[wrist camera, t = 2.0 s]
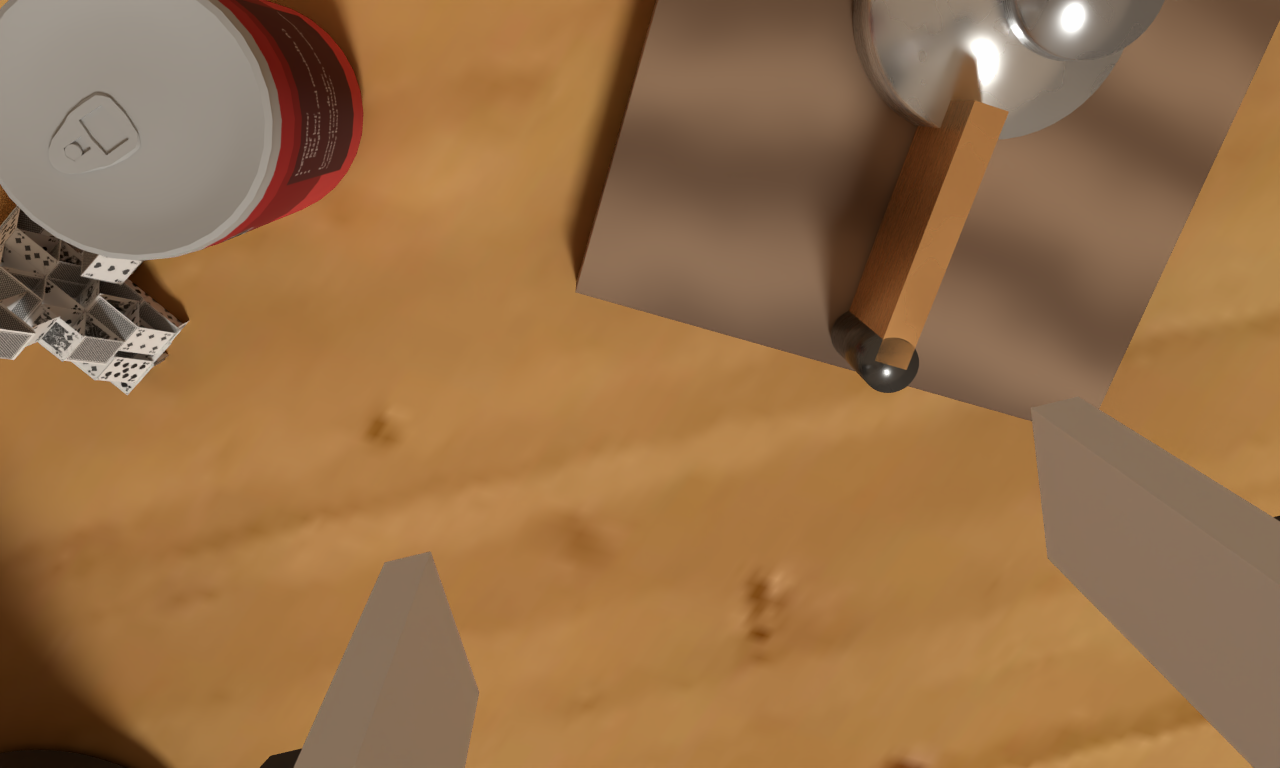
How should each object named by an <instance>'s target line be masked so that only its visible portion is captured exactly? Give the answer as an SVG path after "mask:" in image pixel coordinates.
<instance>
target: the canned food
mask: <svg viewBox="0 0 1280 768" xmlns="http://www.w3.org/2000/svg"><path fill="white" fill-rule="evenodd" d="M362 126H363V107H362V99H361V92H360V89H359V86H358V83H357V80H356V76H355V73H354V71H353V69H352V67H351V65H350V63H349V62H348V60H347V58H346V56H345V54H344V53H343V51H342V50H341V49H340V47H339V46H338V45H337V44H336V43H335V41H334V40H333V39H332V38H331V37H330V35H329V34H328V33H326V32H325V31H324V30H323V29H322V28H320V27H319V26H318V25H317V24H316V23H314V22H313V21H312V20H311V19H309V18H307V17H305V16H303V15H302V14H300V13H298V12H296V11H294V10H293V9H291V8H287V7H284V6H281V5H278V4H275V3H272V2H269V1H266V0H9V1H8V2H7V3H6V4H5V5H3V6H2V7H1V9H0V185H1V186H2V187H3V189H4V190H5V192H6V193H7V195H8V196H9V197H10V199H11V200H12V201H13V202H14V203H15V204H16V205H17V206H18V207H19V208H20V209H21V210H22V211H23V212H24V213H25V214H26V215H27V216H28V217H29V218H30V219H31V220H33V221H34V222H35V223H37V224H38V225H40V226H41V227H42V228H44V229H45V230H47V231H48V232H49V233H51V234H52V235H54V236H55V237H57V238H59V239H61V240H63V241H65V242H67V243H69V244H71V245H73V246H75V247H77V248H79V249H82V250H84V251H88V252H91V253H95V254H98V255H102V256H106V257H109V258H117V259H127V260H137V261H141V260H152V259H163V258H170V257H178V256H181V255H184V254H188V253H191V252H195V251H198V250H201V249H204V248H207V247H209V246H213V245H216V244H219V243H221V242H224V241H226V240H229V239H231V238H234V237H236V236H238V235H241V234H243V233H246V232H248V231H251V230H253V229H256V228H258V227H260V226H263V225H265V224H268V223H270V222H273V221H275V220H278V219H280V218H282V217H285V216H287V215H290V214H292V213H295V212H297V211H300V210H302V209H304V208H306V207H308V206H310V205H311V204H313V203H315V202H317V201H319V200H320V199H322V198H323V197H324V196H325V195H327V194H328V193H329V192H330V191H331V190H333V189H334V188H335V187H336V186H337V184H338V183H339V182H340V181H341V179H342V178H343V177H344V176H345V174H346V173H347V172H348V170H349V168H350V166H351V164H352V162H353V160H354V158H355V156H356V154H357V150H358V147H359V143H360V139H361V136H362Z"/></svg>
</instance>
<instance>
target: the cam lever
mask: <svg viewBox="0 0 1280 768" xmlns="http://www.w3.org/2000/svg"><path fill="white" fill-rule="evenodd" d="M1164 1H1165V0H853V29H854V38H855V43H856V48H857V52H858V56H859V58H860V61H861V64H862V67H863V70H864V72H865V73H866V75H867V77H868V79H869V81H870V83H871V85H872V86H873V88H874V89H875V90H876V92H877V93H878V95H879V96H880V97H881V99H882V100H883V101H884V102H885V103H886V104H887V105H888V106H889V107H890V108H891V109H892V110H893V111H895V112H896V113H897V114H898V115H900V116H901V117H902V118H903V119H905V120H907V121H909V122H910V123H912V124H914V125H915V126H917V129H916V132H915V134H914V137H913V140H912V142H911V145H910V148H909V151H908V153H907V156H906V159H905V161H904V164H903V167H902V169H901V172H900V175H899V177H898V180H897V183H896V186H895V188H894V191H893V194H892V196H891V199H890V202H889V204H888V207H887V210H886V213H885V215H884V218H883V221H882V223H881V226H880V229H879V231H878V234H877V237H876V239H875V242H874V245H873V248H872V250H871V253H870V256H869V258H868V261H867V264H866V266H865V269H864V272H863V274H862V277H861V280H860V283H859V285H858V288H857V291H856V293H855V296H854V299H853V301H852V304H851V307H850V310H849V311H847V312H845V313H844V314H842V315H841V316H840V317H839V318H838V319H837V320H836V321H835V323H834V325H833V327H832V330H831V341H832V344H833V347H834V348H835V350H836V351H837V352H838V353H839V354H840V355H841V356H842V357H843V358H844V359H845V360H846V361H847V363H848V364H849V365H850V366H851V367H852V368H853V369H854V370H855V371H856V372H857V373H858V374H859V375H860V376H861V377H862V378H863V379H864V380H865V381H866V382H867V383H868V385H870V386H871V387H872V388H873V389H875V390H877V391H880V392H884V393H892V392H896V391H899V390H902V389H903V388H905V387H906V386H908V385H909V384H910V383H911V382H912V381H913V379H914V378H915V376H916V374H917V372H918V368H919V357H918V353H917V351H916V349H915V347H916V345H917V342H918V340H919V337H920V335H921V332H922V330H923V327H924V325H925V322H926V320H927V317H928V315H929V312H930V310H931V307H932V305H933V302H934V300H935V297H936V295H937V292H938V289H939V287H940V284H941V282H942V279H943V277H944V274H945V272H946V269H947V267H948V264H949V262H950V259H951V257H952V254H953V252H954V249H955V247H956V244H957V242H958V239H959V237H960V234H961V232H962V229H963V226H964V224H965V221H966V219H967V216H968V214H969V211H970V209H971V206H972V204H973V201H974V199H975V196H976V194H977V191H978V189H979V186H980V184H981V181H982V179H983V176H984V174H985V171H986V169H987V166H988V163H989V161H990V158H991V156H992V153H993V151H994V148H995V146H996V143H997V141H998V139H1009V138H1014V137H1020V136H1024V135H1027V134H1030V133H1033V132H1037V131H1039V130H1041V129H1044V128H1046V127H1048V126H1050V125H1052V124H1054V123H1056V122H1058V121H1059V120H1061V119H1062V118H1064V117H1066V116H1067V115H1069V114H1070V113H1072V112H1073V111H1074V110H1075V109H1077V108H1078V107H1079V106H1080V105H1082V104H1083V103H1084V102H1085V101H1086V100H1087V99H1088V98H1089V97H1090V96H1091V95H1092V94H1093V93H1094V92H1095V91H1096V90H1097V89H1098V88H1099V87H1100V85H1101V84H1102V83H1103V82H1104V80H1105V79H1106V78H1107V77H1108V75H1109V74H1110V72H1111V71H1112V69H1113V68H1114V66H1115V64H1116V63H1117V61H1118V60H1119V58H1120V56H1121V54H1122V52H1123V50H1124V48H1125V47H1127V46H1128V45H1130V44H1131V43H1132V42H1134V41H1135V40H1136V39H1137V38H1139V37H1140V36H1141V35H1142V34H1143V33H1144V32H1145V31H1146V30H1147V28H1148V27H1149V26H1150V25H1151V23H1152V22H1153V21H1154V19H1155V18H1156V16H1157V14H1158V13H1159V11H1160V9H1161V7H1162V5H1163V3H1164Z"/></svg>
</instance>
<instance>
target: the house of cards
mask: <svg viewBox="0 0 1280 768" xmlns="http://www.w3.org/2000/svg"><path fill="white" fill-rule="evenodd" d="M143 261H144V260H141V261H137V260H127V259H117V258H109V257H106V256H102V255H98V254H95V253H91V252H88V251H84V250H82V249H79V248H77V247H75V246H73V245H71V244H69V243H67V242H65V241H63V240H61V239H59V238H57V237H55V236H54V235H52V234H51V233H49V232H48V231H47V230H45V229H44V228H42V227H41V226H40V225H38V224H37V223H35V222H34V221H33V220H31V219H30V218H29V217H28V216H27V215H26V214H25V213H24V212H23V211H22V210H21V209H20V208H19V207H18V206H16V207H15V208H14V210H13V211H12V212H11V213H10V215H9V216H8V217H7V218H6V219H5V221H4V222H3V223H2V224H1V226H0V358H3V359H12V360H15V358H16V357H17V356H18V355H19V354H20V353H21V351H22V350H23V349H24V348H25V347H26V346H29V345H31V344H33V343H36V342H38V343H39V344H41V345H42V346H43V347H44V348H46V349H47V350H48V351H49V352H51V353H52V354H53V355H55V356H56V357H57V358H58V359H60V360H61V361H62V362H63V361H71V362H72V363H74V364H75V365H76V366H77V367H79V368H80V369H81V370H83V371H84V372H85V373H86V374H88V375H89V376H90V377H91V378H93V379H94V380H103V381H110V382H111V383H112V384H114V385H115V386H116V387H118V388H119V389H120V390H121V391H123V393H125V394H126V395H128V394H129V393H130V392H131V391H132V390H133V389H134V387H135V386H136V385H137V384H138V383H139V382H140V381H141V380H142V378H143V377H144V376H145V375H146V374H147V373H148V372H149V371H150V369H151V368H152V367H153V366H156V365H157V364H159V363H161V362H162V361H164V360H165V359H164V358H166V357H167V356H169V355H168V354H166V353H165V352H164V351H165V350H166V349H167V348H168V347H169V346H170V344H171V341H172V340H173V339H174V338H175V337H176V336H177V335H178V334H179V332H180V331H181V330H182V328H183V327H184V326H185V325H186V324H187V323H188V322H189V321H190V320H189V321H188V322H186V323H184V324H183V323H182V322H180V321H179V320H178V319H177V318H176V317H174V316H173V315H172V314H171V313H169V312H168V311H167V310H166V309H165V308H163V307H162V306H161V305H160V304H159V303H157V302H156V301H155V300H154V299H152V298H151V297H150V296H149V295H147V294H146V293H145V292H144V291H143V290H141V289H140V288H139V287H138V286H137V285H135V284H134V283H133V282H132V281H130V280H129V279H128V277H129V276H130V275H131V274H133V273H134V272H135V271H136V270H137V268H138V267H139V266H140V265H141V264H142V263H143Z"/></svg>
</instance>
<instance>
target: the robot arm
mask: <svg viewBox="0 0 1280 768" xmlns="http://www.w3.org/2000/svg"><path fill="white" fill-rule="evenodd" d="M1031 414H1032V423H1033V432H1034V441H1035V450H1036V459H1037V467H1038V476H1039V485H1040V494H1041V503H1042V512H1043V521H1044V530H1045V539H1046V547H1047V556H1048V559H1049V560H1050V561H1051V562H1052V563H1053V564H1054V565H1055V566H1056V567H1057V568H1058V569H1059V570H1060V571H1061V572H1062V573H1063V574H1064V575H1065V576H1066V577H1067V578H1068V579H1069V580H1070V581H1071V582H1072V583H1073V584H1074V585H1075V586H1076V587H1077V589H1078V590H1079V591H1080V592H1081V593H1082V594H1083V595H1084V596H1085V597H1086V598H1087V599H1088V600H1089V601H1090V602H1091V603H1092V604H1093V605H1094V606H1095V607H1096V608H1097V609H1098V610H1099V611H1100V612H1101V613H1102V614H1103V615H1104V616H1105V617H1106V618H1107V619H1108V620H1109V621H1110V622H1111V623H1112V624H1113V625H1114V626H1115V627H1116V628H1117V629H1118V630H1119V631H1120V632H1121V633H1122V634H1123V635H1124V636H1125V637H1126V638H1127V639H1128V640H1129V641H1130V642H1131V643H1132V644H1133V645H1134V646H1135V647H1136V648H1137V649H1138V650H1139V652H1140V653H1141V654H1142V655H1143V656H1144V657H1145V658H1146V659H1147V660H1148V661H1149V662H1150V663H1151V664H1152V665H1153V666H1154V667H1155V668H1156V669H1157V670H1158V671H1159V672H1160V673H1161V674H1162V675H1163V676H1164V677H1165V678H1166V679H1167V680H1168V681H1169V682H1170V683H1171V684H1172V685H1173V686H1174V687H1175V688H1176V689H1177V690H1178V691H1179V692H1180V693H1181V694H1182V695H1183V696H1184V697H1185V698H1186V699H1187V700H1188V701H1189V702H1190V703H1191V704H1192V705H1193V706H1194V707H1195V708H1196V709H1197V710H1198V711H1199V712H1200V713H1201V715H1202V716H1203V717H1204V718H1205V719H1206V720H1207V721H1208V722H1209V723H1210V724H1211V725H1212V726H1213V727H1214V728H1215V729H1216V730H1217V731H1218V732H1219V733H1220V734H1221V735H1222V736H1223V737H1224V738H1225V739H1226V740H1227V741H1228V742H1229V743H1230V744H1231V745H1232V746H1233V747H1234V748H1235V749H1236V750H1237V751H1238V752H1239V753H1240V754H1241V755H1242V756H1243V757H1244V758H1245V759H1246V760H1247V761H1248V762H1249V763H1250V764H1251V765H1252V766H1253V767H1254V768H1280V516H1277V517H1272V516H1270V515H1268V514H1267V513H1265V512H1264V511H1262V510H1260V509H1259V508H1257V507H1256V506H1254V505H1252V504H1251V503H1249V502H1247V501H1246V500H1244V499H1243V498H1241V497H1239V496H1238V495H1236V494H1235V493H1233V492H1231V491H1230V490H1228V489H1227V488H1225V487H1223V486H1222V485H1220V484H1218V483H1217V482H1215V481H1214V480H1212V479H1210V478H1209V477H1207V476H1206V475H1204V474H1202V473H1201V472H1199V471H1197V470H1196V469H1194V468H1193V467H1191V466H1189V465H1188V464H1186V463H1185V462H1183V461H1181V460H1180V459H1178V458H1176V457H1175V456H1173V455H1172V454H1170V453H1168V452H1167V451H1165V450H1164V449H1162V448H1160V447H1159V446H1157V445H1156V444H1154V443H1152V442H1151V441H1149V440H1147V439H1146V438H1144V437H1143V436H1141V435H1139V434H1138V433H1136V432H1135V431H1133V430H1131V429H1130V428H1128V427H1126V426H1125V425H1123V424H1122V423H1120V422H1118V421H1117V420H1115V419H1114V418H1112V417H1110V416H1109V415H1107V414H1105V413H1104V412H1102V411H1101V410H1099V409H1097V408H1096V407H1094V406H1093V405H1091V404H1089V403H1088V402H1086V401H1084V400H1083V399H1081V398H1080V397H1074V398H1070V399H1066V400H1062V401H1057V402H1053V403H1049V404H1045V405H1041V406H1037V407H1032V408H1031ZM478 695H479V690H478V688H477V685H476V682H475V679H474V676H473V673H472V670H471V667H470V664H469V662H468V659H467V656H466V653H465V650H464V647H463V644H462V641H461V638H460V635H459V633H458V630H457V627H456V624H455V621H454V618H453V615H452V612H451V609H450V607H449V604H448V601H447V598H446V595H445V592H444V589H443V586H442V583H441V580H440V578H439V575H438V572H437V569H436V566H435V563H434V560H433V557H432V554H431V552H427V553H423V554H418V555H414V556H410V557H406V558H402V559H397V560H393V561H389V562H385V563H384V565H383V568H382V570H381V572H380V574H379V577H378V579H377V581H376V583H375V586H374V588H373V590H372V592H371V595H370V597H369V599H368V601H367V604H366V606H365V608H364V610H363V613H362V615H361V617H360V619H359V622H358V624H357V626H356V628H355V631H354V633H353V635H352V637H351V640H350V642H349V644H348V646H347V649H346V651H345V653H344V655H343V658H342V660H341V662H340V664H339V667H338V669H337V671H336V673H335V676H334V678H333V680H332V682H331V685H330V687H329V689H328V691H327V694H326V696H325V698H324V700H323V703H322V705H321V707H320V709H319V712H318V714H317V716H316V718H315V721H314V723H313V725H312V727H311V730H310V732H309V734H308V736H307V739H306V741H305V743H304V745H303V748H302V749H298V750H293V751H289V752H285V753H281V754H276V755H272V756H270V757H269V758H268V759H267V760H266V761H265V762H264V764H263V765H262V766H261V767H260V768H465V764H466V758H467V753H468V748H469V742H470V737H471V732H472V727H473V721H474V716H475V711H476V706H477V700H478ZM0 768H124V767H121V766H119V765H117V764H114V763H111V762H108V761H105V760H102V759H98V758H95V757H91V756H87V755H82V754H77V753H71V752H64V751H54V750H22V751H12V752H5V753H0Z"/></svg>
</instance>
